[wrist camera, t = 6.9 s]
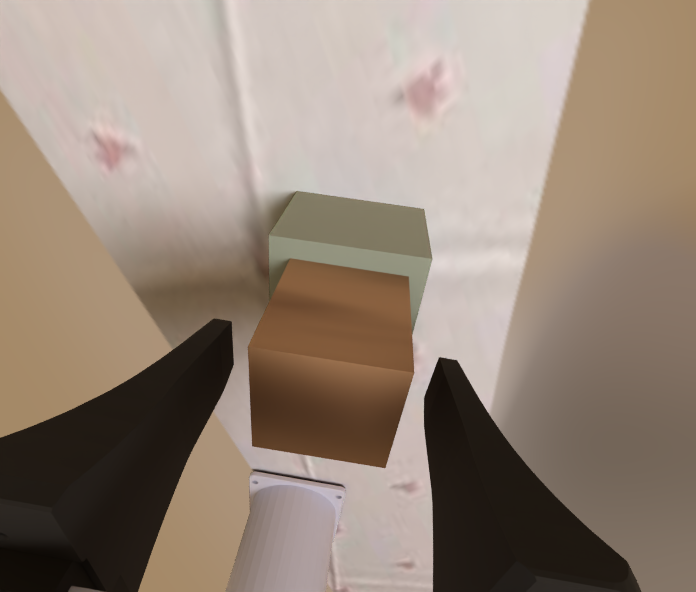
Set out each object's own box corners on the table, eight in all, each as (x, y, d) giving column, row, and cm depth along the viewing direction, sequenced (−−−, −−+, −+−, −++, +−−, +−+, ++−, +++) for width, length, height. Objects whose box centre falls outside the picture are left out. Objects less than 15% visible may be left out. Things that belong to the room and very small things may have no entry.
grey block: (400, 310, 21) (401, 375, 17) (294, 294, 21) (270, 355, 17) (423, 208, 18) (432, 259, 14) (297, 190, 18) (268, 235, 14)
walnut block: (387, 362, 17) (385, 468, 13) (287, 346, 17) (252, 446, 13) (408, 276, 14) (414, 373, 10) (290, 258, 14) (248, 346, 10)
